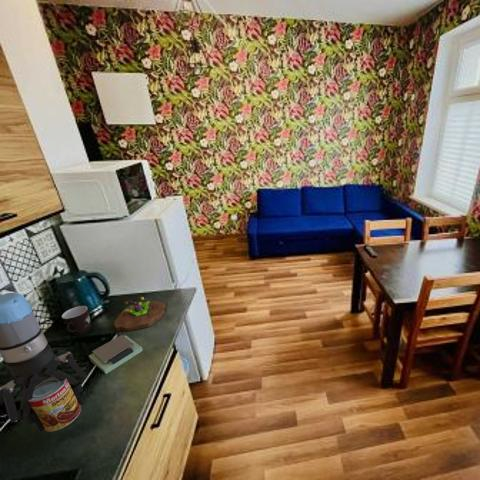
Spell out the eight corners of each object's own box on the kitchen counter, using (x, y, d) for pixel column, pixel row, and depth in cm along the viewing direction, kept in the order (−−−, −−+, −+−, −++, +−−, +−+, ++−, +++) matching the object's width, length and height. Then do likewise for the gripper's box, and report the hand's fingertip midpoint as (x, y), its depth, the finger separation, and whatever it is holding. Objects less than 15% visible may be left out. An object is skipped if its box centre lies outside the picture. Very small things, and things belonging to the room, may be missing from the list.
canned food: (68, 429, 71) (52, 398, 67) (35, 433, 70) (15, 403, 65) (87, 401, 78) (73, 372, 74) (57, 405, 77) (41, 375, 73)
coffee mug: (83, 322, 124) (75, 305, 120) (99, 324, 123) (92, 306, 119) (57, 341, 113) (48, 322, 110) (75, 343, 112) (66, 324, 108)
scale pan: (92, 352, 103) (91, 351, 102) (122, 336, 111) (121, 334, 111) (104, 363, 98) (104, 362, 98) (134, 345, 106) (134, 344, 106)
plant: (155, 329, 120) (149, 308, 116) (108, 334, 117) (99, 313, 113) (171, 302, 138) (166, 284, 134) (130, 306, 135) (124, 287, 131)
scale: (91, 361, 103) (86, 352, 102) (127, 340, 114) (124, 332, 112) (106, 376, 97) (102, 367, 95) (143, 352, 107) (140, 343, 106)
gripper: (-36, 392, 55) (12, 458, 64) (85, 332, 71) (110, 391, 80) (-44, 376, 59) (3, 440, 67) (73, 322, 75) (98, 380, 84)
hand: (61, 414), depth 74 cm, fingers closed on canned food, 8 cm apart
